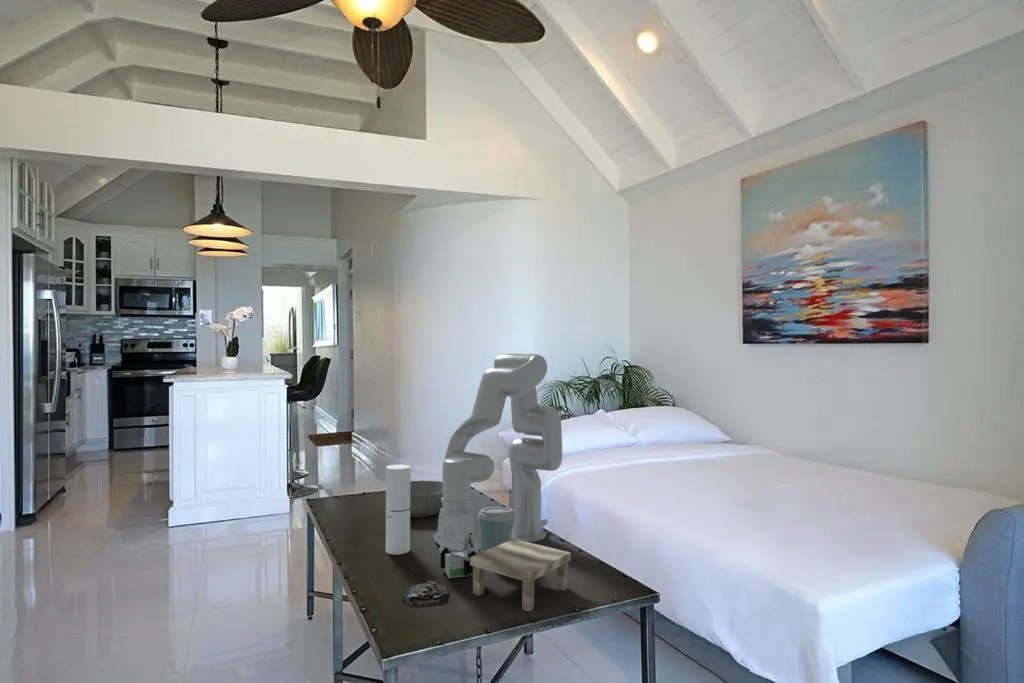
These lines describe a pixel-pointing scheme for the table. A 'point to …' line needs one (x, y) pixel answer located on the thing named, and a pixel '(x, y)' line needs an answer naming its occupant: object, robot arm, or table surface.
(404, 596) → the dark grey rock
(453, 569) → the small box
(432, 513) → the ceramic bowl
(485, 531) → the disposable coffee cup
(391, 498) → the cylindrical container
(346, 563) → the table surface
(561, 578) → the footstool
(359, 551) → the table surface
